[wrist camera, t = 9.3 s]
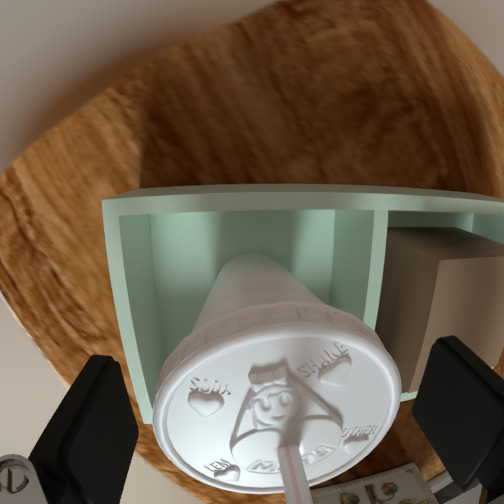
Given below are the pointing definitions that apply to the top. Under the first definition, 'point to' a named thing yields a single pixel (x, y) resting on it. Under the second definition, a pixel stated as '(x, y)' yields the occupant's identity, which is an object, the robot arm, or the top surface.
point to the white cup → (273, 386)
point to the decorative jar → (379, 489)
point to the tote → (259, 251)
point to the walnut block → (439, 296)
